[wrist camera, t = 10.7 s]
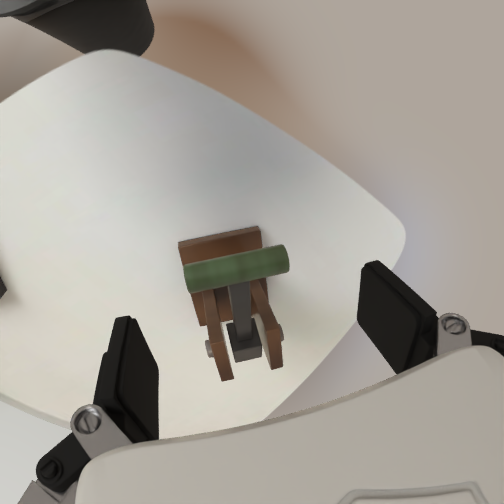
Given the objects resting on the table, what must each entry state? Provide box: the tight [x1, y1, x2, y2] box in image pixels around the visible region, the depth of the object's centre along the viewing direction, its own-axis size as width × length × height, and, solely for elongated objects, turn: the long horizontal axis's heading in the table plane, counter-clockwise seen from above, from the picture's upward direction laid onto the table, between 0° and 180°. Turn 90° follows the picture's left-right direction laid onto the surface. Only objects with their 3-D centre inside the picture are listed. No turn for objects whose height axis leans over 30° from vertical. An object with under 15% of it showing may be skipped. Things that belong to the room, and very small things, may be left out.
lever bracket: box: [178, 226, 284, 381], centre depth 26 cm, size 10×8×12 cm
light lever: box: [183, 244, 289, 363], centre depth 19 cm, size 12×5×2 cm, turn 8°
